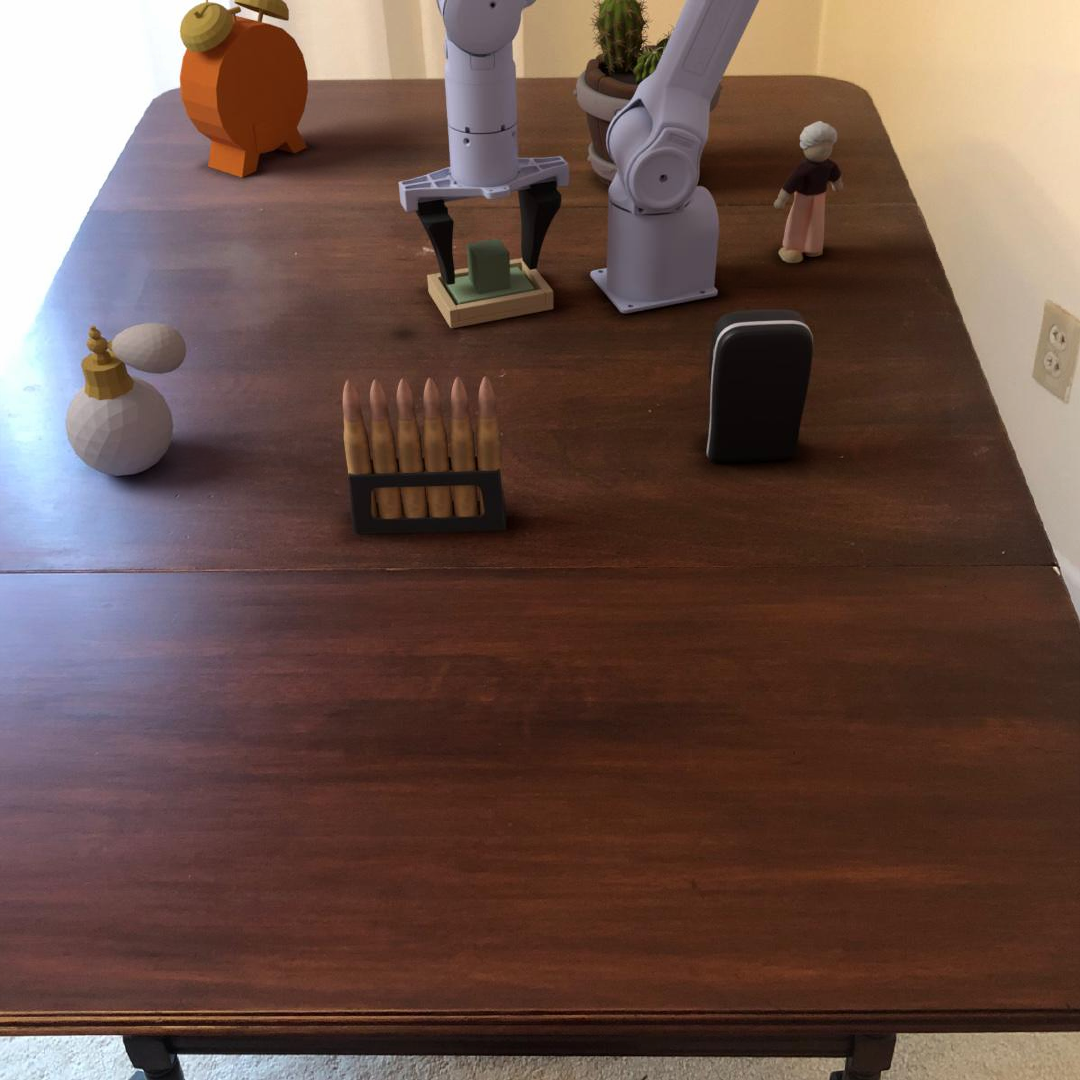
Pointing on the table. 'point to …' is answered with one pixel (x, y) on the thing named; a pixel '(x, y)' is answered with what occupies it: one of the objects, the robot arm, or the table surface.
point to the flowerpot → (616, 74)
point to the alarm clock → (242, 83)
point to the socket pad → (491, 300)
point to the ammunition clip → (424, 463)
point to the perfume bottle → (124, 400)
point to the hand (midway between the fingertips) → (489, 272)
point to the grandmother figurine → (809, 194)
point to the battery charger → (758, 385)
